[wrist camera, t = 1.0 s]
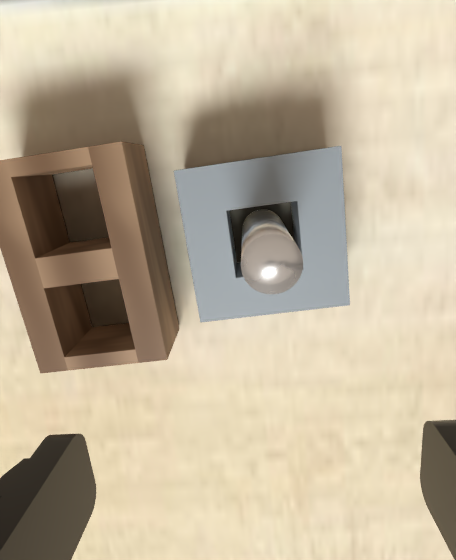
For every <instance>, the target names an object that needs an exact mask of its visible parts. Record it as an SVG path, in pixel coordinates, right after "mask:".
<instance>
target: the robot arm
mask: <svg viewBox="0 0 456 560" xmlns="http://www.w3.org/2000/svg"><path fill="white" fill-rule="evenodd" d="M420 482H421V488H422V493H423V496H424V499H425V502H426V505H427V507H428V509H429V511H430V513H431V515H432V517H433V519H434V521H435V523H436V525H437V526H438V528H439V530H440V532H441V534H442V536H443V538H444V540H445V542H446V544H447V546H448V548H449V550H450V552H451V554H452V555H453V557H454V559H455V560H456V420H442V421H427V422H426V423H425V424H424V428H423V440H422V455H421V470H420ZM95 499H96V484H95V479H94V475H93V470H92V466H91V462H90V458H89V453H88V449H87V445H86V441H85V438H84V436H83V435H82V434H61V435H49V436H47V437H46V438H45V439H44V440H43V441H42V443H41V444H40V445H39V447H38V448H37V450H36V451H35V452H34V454H33V455H32V456H31V458H28V459H23V460H22V461H21V462H19V463H18V464H17V465H16V466H14V467H13V468H12V469H11V470H9V471H8V472H7V473H5V474H4V475H3V476H2V477H1V478H0V560H71V559H72V556H73V554H74V552H75V550H76V548H77V545H78V543H79V541H80V539H81V537H82V534H83V532H84V530H85V528H86V525H87V523H88V521H89V519H90V517H91V514H92V512H93V509H94V505H95Z"/></svg>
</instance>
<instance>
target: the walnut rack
mask: <svg viewBox="0 0 456 560" xmlns="http://www.w3.org/2000/svg"><path fill="white" fill-rule="evenodd" d="M91 168H93V171H94V175H95V180H96V184H97V188H98V192H99V197H100V201H101V205H102V209H103V214H104V218H105V222H106V227H107V231H108V235H109V237H107V238H100V239H92V240H85V241H78V242H69V238H68V234H67V230H66V227H65V223H64V219H63V215H62V212H61V208H60V204H59V200H58V197H57V193H56V189H55V185H54V181H53V178H52V174H59V173H65V172H72V171H78V170H85V169H91ZM0 248H1V251H2V254H3V257H4V261H5V264H6V267H7V270H8V273H9V276H10V279H11V282H12V286H13V289H14V292H15V295H16V298H17V301H18V304H19V308H20V311H21V314H22V317H23V320H24V323H25V326H26V329H27V333H28V336H29V339H30V342H31V345H32V348H33V351H34V354H35V358H36V361H37V364H38V367H39V370H40V373H48V372H57V371H67V370H76V369H85V368H94V367H104V366H113V365H122V364H131V363H141V362H150V361H159V360H167V359H168V356H169V354H170V351H171V349H172V346H173V344H174V341H175V338H176V336H177V333H178V331H179V325H178V320H177V314H176V309H175V304H174V299H173V294H172V289H171V284H170V278H169V273H168V268H167V263H166V258H165V253H164V248H163V242H162V237H161V232H160V227H159V222H158V217H157V212H156V206H155V201H154V196H153V191H152V186H151V181H150V176H149V170H148V165H147V160H146V155H145V150H144V145H140V144H134V143H128V142H122V141H121V142H115V143H108V144H102V145H96V146H89V147H83V148H77V149H70V150H64V151H57V152H51V153H45V154H38V155H32V156H26V157H19V158H13V159H7V160H0ZM114 279H119V282H120V286H121V291H122V295H123V299H124V303H125V308H126V312H127V316H128V320H129V323H124V324H116V325H107V326H99V327H92V325H91V321H90V317H89V313H88V310H87V306H86V302H85V298H84V295H83V291H82V287H81V284H82V283H90V282H98V281H106V280H114Z"/></svg>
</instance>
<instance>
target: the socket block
mask: <svg viewBox="0 0 456 560" xmlns="http://www.w3.org/2000/svg"><path fill="white" fill-rule="evenodd" d="M174 175H175V181H176V186H177V192H178V198H179V203H180V209H181V215H182V220H183V226H184V232H185V237H186V243H187V249H188V254H189V260H190V266H191V271H192V277H193V283H194V288H195V294H196V300H197V305H198V311H199V317H200V322H208V321H216V320H225V319H234V318H242V317H251V316H259V315H268V314H277V313H285V312H294V311H303V310H311V309H320V308H329V307H337V306H346V305H350V298H349V279H348V261H347V242H346V224H345V205H344V187H343V168H342V150H341V146H336V147H330V148H323V149H316V150H310V151H303V152H296V153H290V154H283V155H276V156H269V157H263V158H256V159H249V160H243V161H236V162H229V163H222V164H216V165H209V166H202V167H196V168H189V169H182V170H176V171H174ZM285 202H291V211H292V222H293V232H294V241H295V243H296V245H297V246H298V248H299V249H300V251H301V254H302V257H303V270H302V274H301V276H300V278H299V280H298V281H297V283H296V284H295V285H294V286H293V287H291V288H290V289H289V290H287V291H285V292H282V293H279V294H263V293H260V292H258V291H256V290H254V289H253V288H252V287H250V286H249V285H248V283H247V282H246V281H245V279H244V277H243V275H242V271H241V262H239V263H237V259H236V252H235V245H234V238H233V231H232V224H231V217H230V210H235V209H242V208H249V207H256V206H264V205H271V204H278V203H285Z"/></svg>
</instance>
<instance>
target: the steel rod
mask: <svg viewBox="0 0 456 560" xmlns="http://www.w3.org/2000/svg"><path fill="white" fill-rule="evenodd" d="M302 270H303V257H302V254H301V251H300V249H299V248H298V246H297V245H296V243H295V241H294V240H293V238H292V237H291V235H290V233H289V232H288V230H287V229H286V227H285V225H284V224H283V222H282V221H281V219H280V217H279V216H278V215H277V214H276V213H274V212H272V211H270V210H266V209H260V210H256V211H254V212H252V213H251V214H249V215H248V216H247V218H246V219H245V221H244V223H243V227H242V248H241V271H242V275H243V277H244V279H245V281H246V282H247V283H248V285H249V286H250V287H252V288H253V289H254V290H256V291H258V292H260V293H263V294H279V293H282V292H285V291H287V290H289V289H290V288H291V287H293V286H294V285H295V284H296V283H297V281H298V280H299V278H300V276H301V274H302Z"/></svg>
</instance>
